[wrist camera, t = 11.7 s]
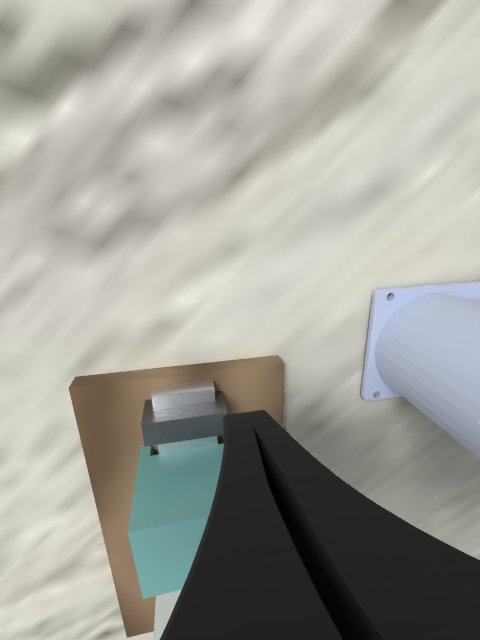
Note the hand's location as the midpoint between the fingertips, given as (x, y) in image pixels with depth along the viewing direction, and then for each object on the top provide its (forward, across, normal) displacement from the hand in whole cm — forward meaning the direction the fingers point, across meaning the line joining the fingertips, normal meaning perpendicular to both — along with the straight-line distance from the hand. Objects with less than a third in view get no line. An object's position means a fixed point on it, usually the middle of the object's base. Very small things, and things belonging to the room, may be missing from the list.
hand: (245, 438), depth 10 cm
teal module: (+8, +2, +9) cm, 12 cm away
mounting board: (+9, +2, +13) cm, 16 cm away
